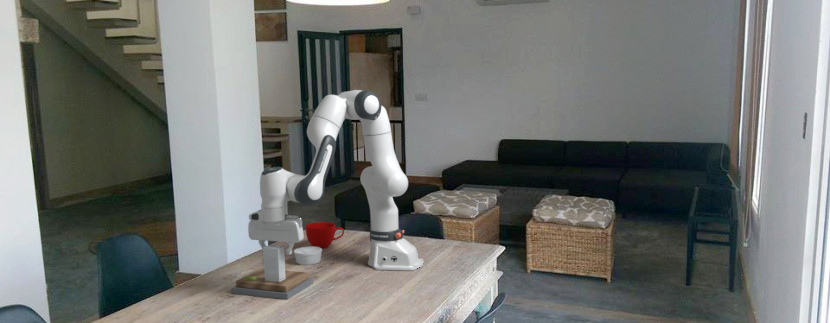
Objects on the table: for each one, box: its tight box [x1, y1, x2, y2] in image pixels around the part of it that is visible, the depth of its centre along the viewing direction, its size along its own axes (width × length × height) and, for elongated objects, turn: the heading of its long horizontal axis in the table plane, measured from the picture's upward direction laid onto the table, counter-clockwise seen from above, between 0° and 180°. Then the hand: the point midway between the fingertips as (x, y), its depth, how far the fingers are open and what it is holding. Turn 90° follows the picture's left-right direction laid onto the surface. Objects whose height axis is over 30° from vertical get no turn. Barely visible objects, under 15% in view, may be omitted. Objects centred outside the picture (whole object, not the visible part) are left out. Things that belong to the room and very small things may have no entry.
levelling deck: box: [235, 267, 310, 292], centre depth 222 cm, size 20×16×4 cm
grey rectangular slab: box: [231, 277, 314, 300], centre depth 223 cm, size 22×18×2 cm
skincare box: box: [262, 244, 286, 282], centre depth 218 cm, size 6×4×12 cm
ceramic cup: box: [305, 221, 345, 250], centre depth 277 cm, size 13×17×10 cm
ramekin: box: [293, 245, 323, 266], centre depth 255 cm, size 11×11×5 cm
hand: (277, 253), depth 219 cm, fingers open, 8 cm apart
